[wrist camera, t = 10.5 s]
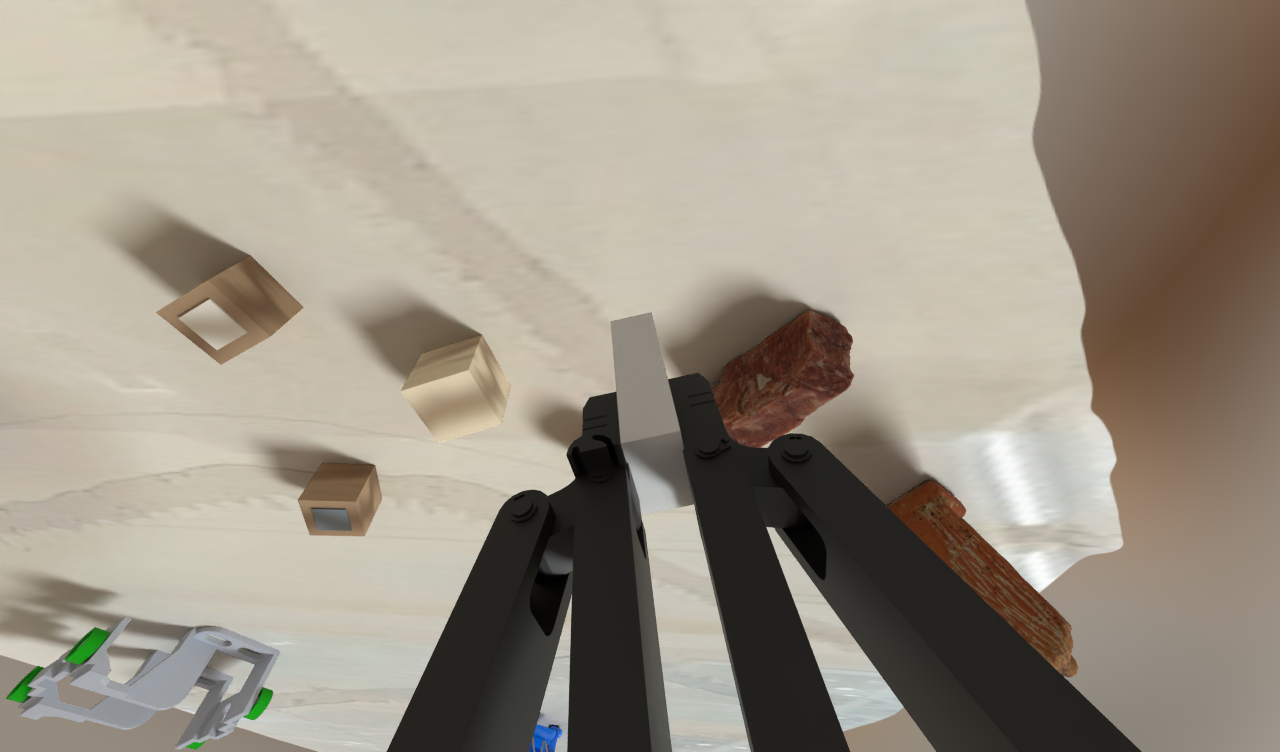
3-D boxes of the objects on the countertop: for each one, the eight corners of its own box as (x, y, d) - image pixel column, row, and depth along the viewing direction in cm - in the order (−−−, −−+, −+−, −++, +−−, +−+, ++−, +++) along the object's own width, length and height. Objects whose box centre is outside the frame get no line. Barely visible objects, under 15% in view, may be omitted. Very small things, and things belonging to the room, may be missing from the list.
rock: (719, 420, 60) (738, 473, 53) (686, 392, 57) (701, 444, 50) (844, 329, 54) (885, 374, 47) (815, 292, 51) (854, 334, 44)
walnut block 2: (322, 462, 58) (296, 501, 53) (375, 464, 59) (354, 503, 54) (332, 496, 61) (309, 536, 56) (382, 498, 62) (363, 537, 57)
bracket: (132, 587, 67) (68, 661, 59) (293, 653, 80) (259, 722, 72) (62, 636, 72) (-7, 711, 64) (225, 691, 85) (185, 760, 76)
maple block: (421, 353, 51) (400, 391, 45) (482, 334, 50) (468, 370, 45) (454, 402, 55) (438, 442, 49) (510, 385, 54) (501, 424, 48)
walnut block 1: (203, 284, 45) (154, 313, 40) (250, 255, 44) (206, 281, 39) (258, 333, 48) (219, 365, 43) (304, 307, 47) (269, 337, 42)
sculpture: (889, 540, 77) (1031, 770, 52) (859, 518, 73) (999, 754, 48) (963, 496, 72) (1159, 724, 48) (936, 469, 69) (1134, 702, 44)
